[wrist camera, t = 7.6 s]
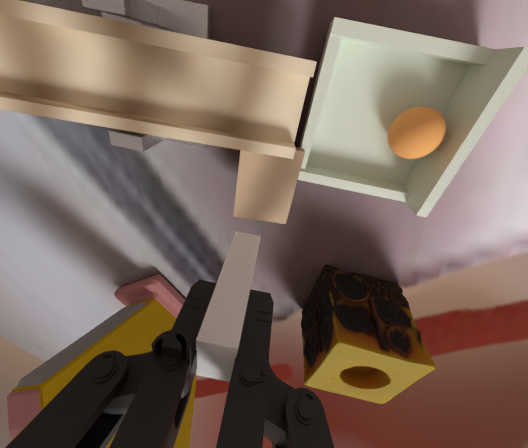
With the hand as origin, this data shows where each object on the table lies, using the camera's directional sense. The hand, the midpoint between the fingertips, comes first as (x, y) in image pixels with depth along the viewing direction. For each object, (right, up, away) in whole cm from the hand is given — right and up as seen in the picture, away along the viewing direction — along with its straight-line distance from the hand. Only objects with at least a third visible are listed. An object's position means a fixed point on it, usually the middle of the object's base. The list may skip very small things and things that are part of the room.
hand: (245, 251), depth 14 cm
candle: (+12, -8, +18) cm, 24 cm away
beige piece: (-8, +10, +5) cm, 14 cm away
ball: (+12, +8, +3) cm, 15 cm away
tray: (+10, +10, +5) cm, 16 cm away
